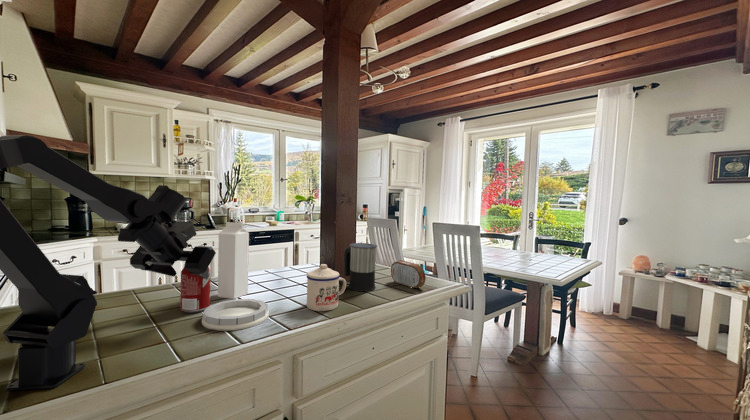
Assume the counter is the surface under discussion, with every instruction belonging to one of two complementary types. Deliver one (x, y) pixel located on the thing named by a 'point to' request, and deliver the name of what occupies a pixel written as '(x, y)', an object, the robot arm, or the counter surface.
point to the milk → (233, 261)
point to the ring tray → (235, 314)
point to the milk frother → (360, 266)
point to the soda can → (194, 292)
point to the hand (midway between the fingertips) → (191, 276)
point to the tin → (408, 274)
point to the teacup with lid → (323, 289)
